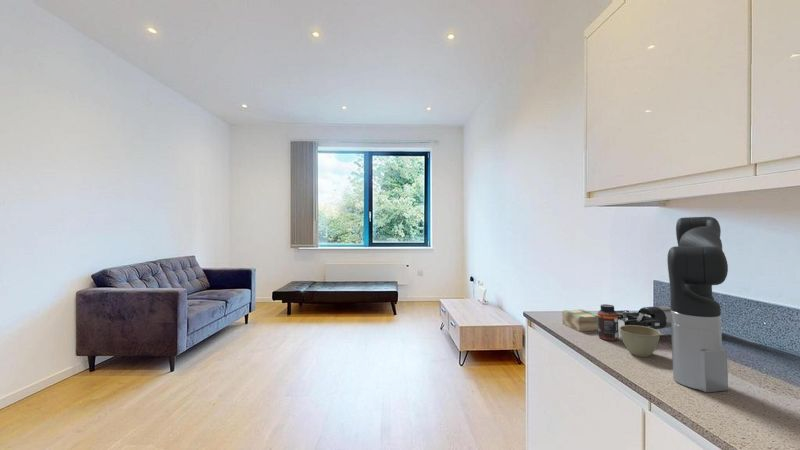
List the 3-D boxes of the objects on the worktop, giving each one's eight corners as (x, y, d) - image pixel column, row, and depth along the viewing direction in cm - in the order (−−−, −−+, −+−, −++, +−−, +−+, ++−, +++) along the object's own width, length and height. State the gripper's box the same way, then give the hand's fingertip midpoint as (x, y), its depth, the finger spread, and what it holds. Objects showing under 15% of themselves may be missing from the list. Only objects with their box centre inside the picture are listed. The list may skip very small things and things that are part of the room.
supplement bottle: (622, 341, 112) (621, 307, 112) (604, 341, 112) (603, 307, 112) (612, 335, 118) (610, 303, 118) (594, 335, 118) (593, 303, 118)
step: (601, 329, 125) (601, 315, 125) (579, 331, 123) (578, 317, 124) (583, 322, 135) (583, 309, 135) (562, 323, 133) (562, 310, 134)
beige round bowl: (612, 349, 105) (611, 326, 105) (638, 346, 107) (638, 323, 107) (641, 362, 95) (640, 336, 95) (669, 358, 97) (669, 333, 97)
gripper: (640, 302, 125) (600, 304, 123) (676, 311, 110) (631, 314, 108) (641, 322, 124) (601, 325, 123) (677, 334, 110) (632, 338, 108)
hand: (615, 320), depth 115 cm, fingers open, 8 cm apart
